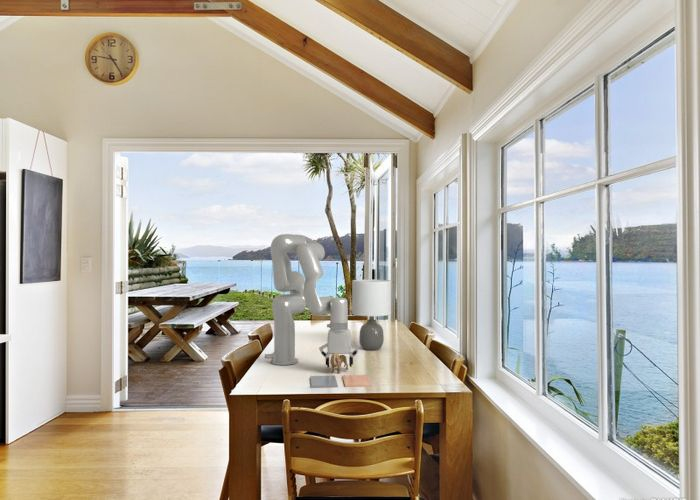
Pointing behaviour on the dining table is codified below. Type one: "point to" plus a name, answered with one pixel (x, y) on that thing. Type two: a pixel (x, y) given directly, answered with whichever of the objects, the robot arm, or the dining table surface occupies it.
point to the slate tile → (323, 382)
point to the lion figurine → (338, 362)
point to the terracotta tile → (356, 381)
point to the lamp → (371, 309)
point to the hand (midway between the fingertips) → (339, 366)
